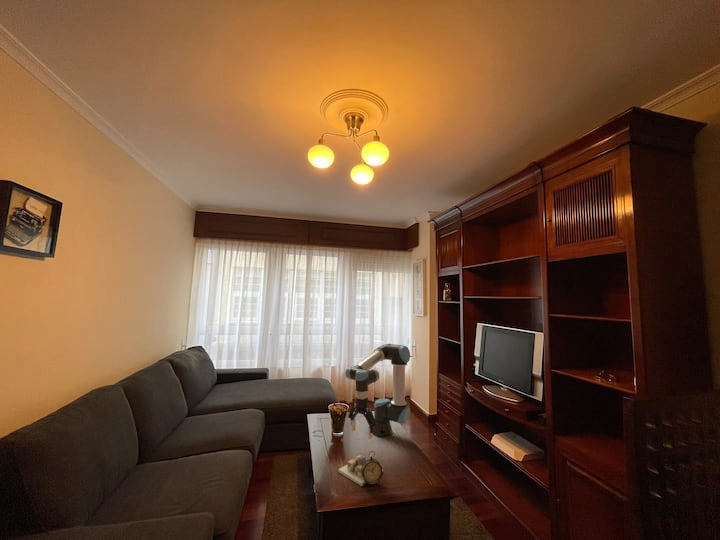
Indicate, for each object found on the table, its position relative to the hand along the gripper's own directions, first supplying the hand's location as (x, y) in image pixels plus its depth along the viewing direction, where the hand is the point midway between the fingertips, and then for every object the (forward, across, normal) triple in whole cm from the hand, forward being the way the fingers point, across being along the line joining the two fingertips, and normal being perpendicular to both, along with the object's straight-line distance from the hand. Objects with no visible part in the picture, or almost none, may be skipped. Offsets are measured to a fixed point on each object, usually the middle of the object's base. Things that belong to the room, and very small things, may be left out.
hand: (361, 434), depth 170 cm
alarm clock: (+18, +14, -8) cm, 24 cm away
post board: (+18, +3, -4) cm, 19 cm away
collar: (+16, +3, -4) cm, 17 cm away
